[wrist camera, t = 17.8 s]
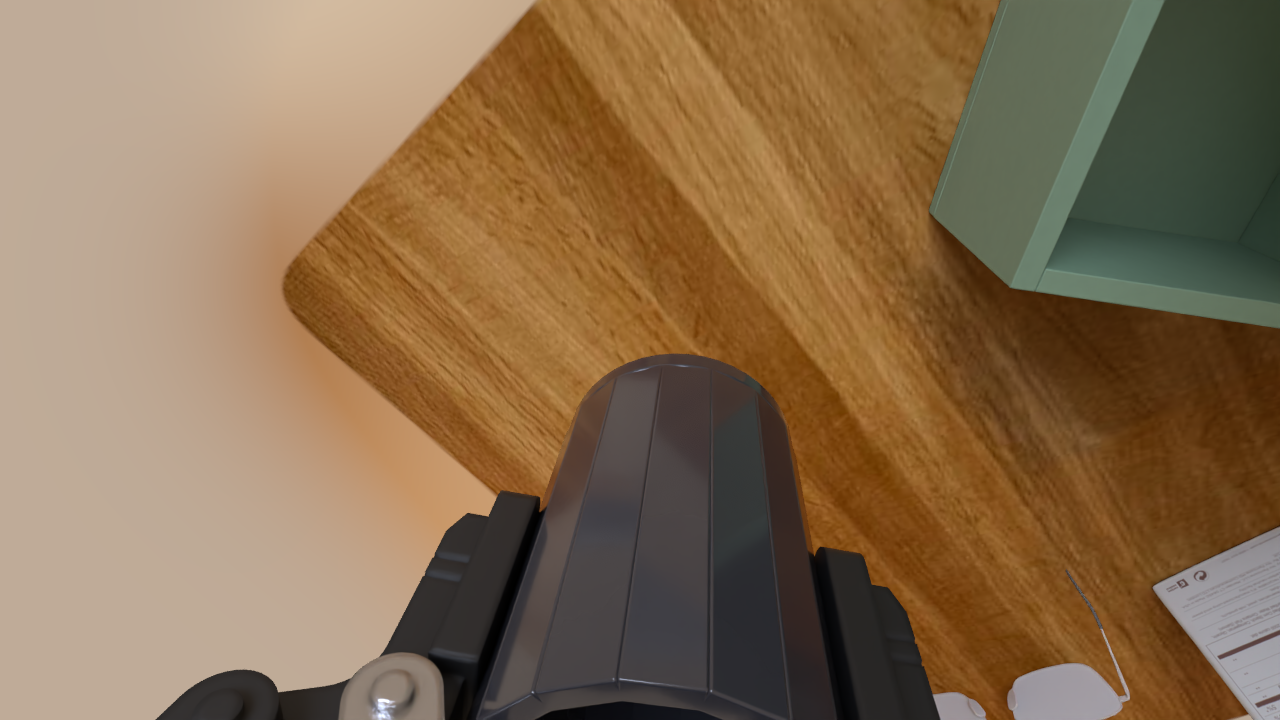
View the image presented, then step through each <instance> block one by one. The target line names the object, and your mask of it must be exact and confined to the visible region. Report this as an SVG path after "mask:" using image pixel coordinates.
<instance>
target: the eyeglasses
mask: <svg viewBox="0 0 1280 720" xmlns="http://www.w3.org/2000/svg"><path fill="white" fill-rule="evenodd" d="M1066 573H1067V574H1068V576H1069V578H1070V579H1071V581H1072V582H1073V584H1074V585H1075V587H1076V588H1077V590H1078V591H1079V593H1080V594H1081V596H1082V597H1083V598H1084V600H1085V601H1086V603H1087V604H1088V606H1089V607H1090V609H1091V611H1092V613H1093V615H1094V617H1095V619H1096V621H1097V623H1098V626H1099V628H1100V629H1101V631H1102V634H1103V636H1104V639H1105V642H1106V644H1107V647H1108V649H1109V652H1110V654H1111V657H1112V660H1113V662H1114V665H1115V667H1116V670H1117V672H1118V675H1119V678H1120V680H1121V683H1122V685H1123V688H1124V690H1125V693H1126V694H1125V695H1124V696H1120V697H1118V695H1117V694H1116V693H1115V691H1114V690H1113V689H1112V688H1111V686H1110V685H1109V684H1108V683H1107V682H1106V681H1105V680H1104V679H1103V678H1102V677H1101V676H1100V675H1099V674H1098V673H1097V672H1096V671H1095V670H1093V669H1092V668H1091V667H1089V666H1087V665H1084V664H1080V663H1068V664H1061V665H1056V666H1051V667H1047V668H1043V669H1039V670H1036V671H1033V672H1030V673H1028V674H1025V675H1023V676H1021V677H1019V678H1017V679H1016V680H1015V682H1014V684H1013V687H1012V689H1011V690H1010V691H1009V692H1008V697H1007V701H1008V707H1009V709H1010V710H1012V711H1013V715H1014V718H1015V720H1103V719H1106V718H1108V717H1111V716H1113V715H1115V714H1117V713H1118V712H1120V710H1121V709H1122V703H1121V702H1125V701H1128V700H1129V699H1130V694H1129V690H1128V688H1127V686H1126V683H1125V681H1124V679H1123V676H1122V674H1121V672H1120V669H1119V667H1118V664H1117V662H1116V660H1115V657H1114V655H1113V653H1112V650H1111V648H1110V646H1109V643H1108V641H1107V639H1106V636H1105V634H1104V631H1103V627H1102V625H1101V623H1100V621H1099V619H1098V617H1097V615H1096V613H1095V611H1094V609H1093V607H1092V606H1091V604H1090V603H1089V601H1088V600H1087V599H1086V597H1085V596H1084V594H1083V593H1082V592H1081V590H1080V589H1079V587H1078V586H1077V584H1076V583H1075V581H1074V580H1073V579H1072V577H1071V576H1070V574H1069V572H1068V571H1067V569H1066ZM933 697H934V700H935V703H936V707H937V710H938V713H939V716H940V719H941V720H986V718H985V715H986V713H985V711H984V710H983V708H982V707H981V706H980V705H979V704H978V703H977V702H976V701H975V700H973V699H969V698H968V697H966V696H965V695H963V694H961V693H957V692H949V693H940V694H934V695H933Z"/></svg>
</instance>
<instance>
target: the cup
mask: <svg viewBox="0 0 1280 720" xmlns="http://www.w3.org/2000/svg"><path fill="white" fill-rule="evenodd" d="M466 720H844V715H843V710H842V704H841V699H840V693H839V688H838V682H837V677H836V672H835V666H834V661H833V655H832V650H831V644H830V639H829V634H828V628H827V623H826V617H825V612H824V606H823V601H822V596H821V590H820V585H819V579H818V574H817V568H816V563H815V558H814V552H813V547H812V541H811V536H810V530H809V525H808V520H807V514H806V509H805V503H804V498H803V492H802V487H801V482H800V476H799V471H798V465H797V460H796V456H795V453H794V449H793V446H792V441H791V436H790V431H789V427H788V424H787V422H786V419H785V417H784V414H783V412H782V411H781V409H780V407H779V406H778V404H777V402H776V401H775V400H774V399H773V397H772V396H771V395H770V394H769V392H768V391H767V390H766V389H765V388H763V387H762V386H761V385H760V384H759V383H758V382H757V381H755V380H754V379H753V378H751V377H750V376H749V375H747V374H746V373H744V372H742V371H740V370H739V369H737V368H735V367H733V366H731V365H728V364H726V363H723V362H721V361H718V360H715V359H711V358H707V357H704V356H697V355H690V354H663V355H655V356H650V357H645V358H641V359H638V360H635V361H632V362H629V363H627V364H625V365H623V366H621V367H619V368H616V369H614V370H613V371H611V372H610V373H608V374H607V375H605V376H604V377H603V378H601V379H600V380H599V381H598V382H597V383H596V384H595V385H593V386H592V388H591V389H590V390H589V391H588V392H587V394H586V395H585V396H584V397H583V399H582V401H581V402H580V404H579V406H578V407H577V410H576V412H575V415H574V417H573V420H572V423H571V426H570V428H569V429H568V431H567V433H566V435H565V438H564V441H563V444H562V447H561V449H560V452H559V455H558V458H557V461H556V464H555V467H554V469H553V472H552V475H551V478H550V481H549V484H548V487H547V490H546V492H545V495H544V498H543V501H542V504H541V507H540V512H539V515H538V518H537V521H536V524H535V527H534V530H533V532H532V535H531V538H530V541H529V544H528V547H527V550H526V553H525V555H524V558H523V561H522V564H521V567H520V570H519V573H518V576H517V578H516V581H515V584H514V587H513V590H512V593H511V596H510V599H509V601H508V604H507V607H506V610H505V613H504V616H503V619H502V622H501V624H500V627H499V630H498V633H497V636H496V639H495V642H494V645H493V647H492V650H491V653H490V656H489V659H488V662H487V665H486V668H485V670H484V673H483V676H482V679H481V682H480V685H479V688H478V691H477V693H476V695H475V696H474V699H473V701H472V704H471V707H470V710H469V713H468V716H467V719H466Z"/></svg>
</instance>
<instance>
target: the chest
mask: <svg viewBox="0 0 1280 720" xmlns="http://www.w3.org/2000/svg"><path fill="white" fill-rule="evenodd" d="M929 213H930V214H932V215H933V216H934V218H935V219H936V220H937V221H938V222H940V223H941V224H942V225H943V226H944V227H945V228H946V229H947V230H948V231H949V232H950V233H951V234H952V235H954V236H955V237H956V238H957V239H958V240H959V241H960V242H961V243H962V244H963V245H964V246H965V247H967V248H968V249H969V250H970V251H971V252H972V253H973V254H974V255H975V256H976V257H977V258H978V259H979V260H981V261H982V262H983V263H984V264H985V265H986V266H987V267H988V268H989V269H990V270H991V271H992V272H994V273H995V274H996V275H997V276H998V277H999V278H1000V279H1001V280H1002V281H1003V282H1004V283H1005V284H1006V285H1008V286H1009V287H1010V288H1013V289H1020V290H1026V291H1036V292H1040V293H1047V294H1054V295H1060V296H1067V297H1073V298H1080V299H1087V300H1093V301H1100V302H1107V303H1113V304H1120V305H1127V306H1133V307H1140V308H1147V309H1153V310H1160V311H1167V312H1173V313H1180V314H1187V315H1193V316H1200V317H1207V318H1213V319H1220V320H1226V321H1233V322H1240V323H1246V324H1253V325H1260V326H1266V327H1273V328H1280V0H1001V2H1000V4H999V7H998V10H997V13H996V16H995V19H994V22H993V25H992V28H991V31H990V34H989V37H988V39H987V42H986V45H985V48H984V51H983V54H982V57H981V60H980V63H979V66H978V69H977V72H976V74H975V77H974V80H973V83H972V86H971V89H970V92H969V95H968V98H967V101H966V104H965V107H964V109H963V112H962V115H961V118H960V121H959V124H958V127H957V130H956V133H955V136H954V139H953V142H952V144H951V147H950V150H949V153H948V156H947V159H946V162H945V165H944V168H943V171H942V174H941V177H940V179H939V182H938V185H937V188H936V191H935V194H934V197H933V200H932V203H931V206H930V209H929Z"/></svg>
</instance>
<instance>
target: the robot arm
mask: <svg viewBox="0 0 1280 720" xmlns="http://www.w3.org/2000/svg"><path fill="white" fill-rule="evenodd" d="M539 512H540V497H538V496H532V495H526V494H521V493H515V492H509V491H503V490H502V491H500V493H499V495H498V497H497V499H496V501H495V503H494V506H493V508H492V510H491V512H490V514H489V517H487V516H482V515H476V514H470V513H467V514H466V515H465V516H463V517H462V518H461V519H460V520H459V521H457V522H456V523H455V524H454V525H453V526H451V527H450V528H449V529H448V530H447V531H446V533H445V535H444V536H443V538H442V540H441V543H440V544H439V546H438V548H437V550H436V552H435V556H434V558H432V560H431V562H430V564H429V566H428V568H427V569H426V571H425V572H426V573H425V576H423V577H422V579H421V581H420V583H419V585H418V587H417V589H416V591H415V593H414V595H413V597H412V599H411V601H410V602H409V604H408V606H407V608H406V610H405V612H404V614H403V616H402V618H401V620H400V622H399V624H398V626H397V628H396V630H395V632H394V634H393V635H392V637H391V640H390V641H389V643H388V645H387V647H386V648H385V650H384V652H383V653H382V654H381V655H380V657H379V658H376V659H375V660H373V661H371V662H369V663H367V664H366V665H365V666H363V667H362V668H361V669H360V670H358V671H357V672H356V673H355V674H354V676H353V677H352V678H351V679H348V680H346V681H344V682H340V683H337V684H334V685H330V686H325V687H317V688H309V689H302V690H293V691H286V692H278V691H277V687H276V686H275V684H274V683H273V681H272V680H271V679H270V678H269V677H267V676H265V675H263V674H262V673H259V672H256V671H252V670H233V671H227V672H223V673H220V674H216V675H214V676H211V677H209V678H207V679H205V680H203V681H201V682H199V683H197V684H196V685H194V686H193V687H191V688H190V689H188V690H187V691H186V692H185V693H184V694H182V695H181V696H180V697H179V698H178V699H177V700H176V701H175V702H174V703H173V704H172V705H171V706H170V707H168V708H167V709H166V710H165V711H164V712H163V713H162V714H161V715H160V716H159V717H158V718H157V719H156V720H466V719H467V716H468V713H469V710H470V707H471V704H472V701H473V699H474V696H475V695H476V693H477V691H478V688H479V685H480V682H481V679H482V676H483V673H484V670H485V668H486V665H487V662H488V659H489V656H490V653H491V650H492V647H493V645H494V642H495V639H496V636H497V633H498V630H499V627H500V624H501V622H502V619H503V616H504V613H505V610H506V607H507V604H508V601H509V599H510V596H511V593H512V590H513V587H514V584H515V581H516V578H517V576H518V573H519V570H520V567H521V564H522V561H523V558H524V555H525V553H526V550H527V547H528V544H529V541H530V538H531V535H532V532H533V530H534V527H535V524H536V521H537V518H538V515H539ZM814 558H815V563H816V568H817V574H818V579H819V585H820V590H821V596H822V601H823V606H824V612H825V617H826V623H827V628H828V634H829V639H830V644H831V650H832V655H833V661H834V666H835V672H836V677H837V682H838V688H839V693H840V699H841V704H842V710H843V715H844V720H941V719H940V716H939V713H938V710H937V707H936V703H935V700H934V697H933V694H932V691H931V688H930V685H929V681H928V678H927V675H926V672H925V669H924V666H922V664H921V663H922V659H921V656H920V653H919V650H918V647H917V644H915V637H914V634H913V631H912V628H911V625H910V621H909V618H908V615H907V612H906V611H905V610H904V608H903V607H902V606H901V604H900V603H899V602H898V600H897V599H896V598H895V596H894V595H893V594H892V592H891V591H890V590H889V588H888V587H882V586H876V585H871V581H870V577H869V574H868V570H867V566H866V563H865V559H864V557H863V556H862V554H860V553H854V552H849V551H843V550H837V549H832V548H826V547H820V548H819V549H818V550H817V552H816V554H815V557H814Z"/></svg>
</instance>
